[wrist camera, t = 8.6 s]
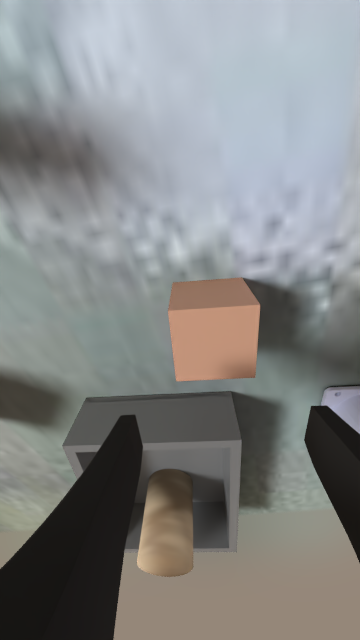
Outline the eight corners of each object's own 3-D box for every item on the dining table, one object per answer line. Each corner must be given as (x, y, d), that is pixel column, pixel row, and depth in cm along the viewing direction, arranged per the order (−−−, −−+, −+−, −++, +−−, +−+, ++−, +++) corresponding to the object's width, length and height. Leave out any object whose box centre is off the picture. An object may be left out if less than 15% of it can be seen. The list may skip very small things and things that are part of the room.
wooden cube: (241, 277, 18) (260, 304, 13) (239, 336, 20) (255, 377, 15) (172, 282, 18) (168, 310, 13) (178, 340, 20) (176, 381, 16)
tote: (230, 391, 22) (241, 440, 18) (229, 499, 30) (236, 551, 26) (86, 398, 23) (62, 446, 19) (121, 501, 31) (110, 552, 27)
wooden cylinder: (190, 467, 27) (189, 551, 20) (194, 493, 29) (195, 576, 23) (144, 469, 27) (131, 552, 21) (152, 495, 29) (143, 576, 23)
